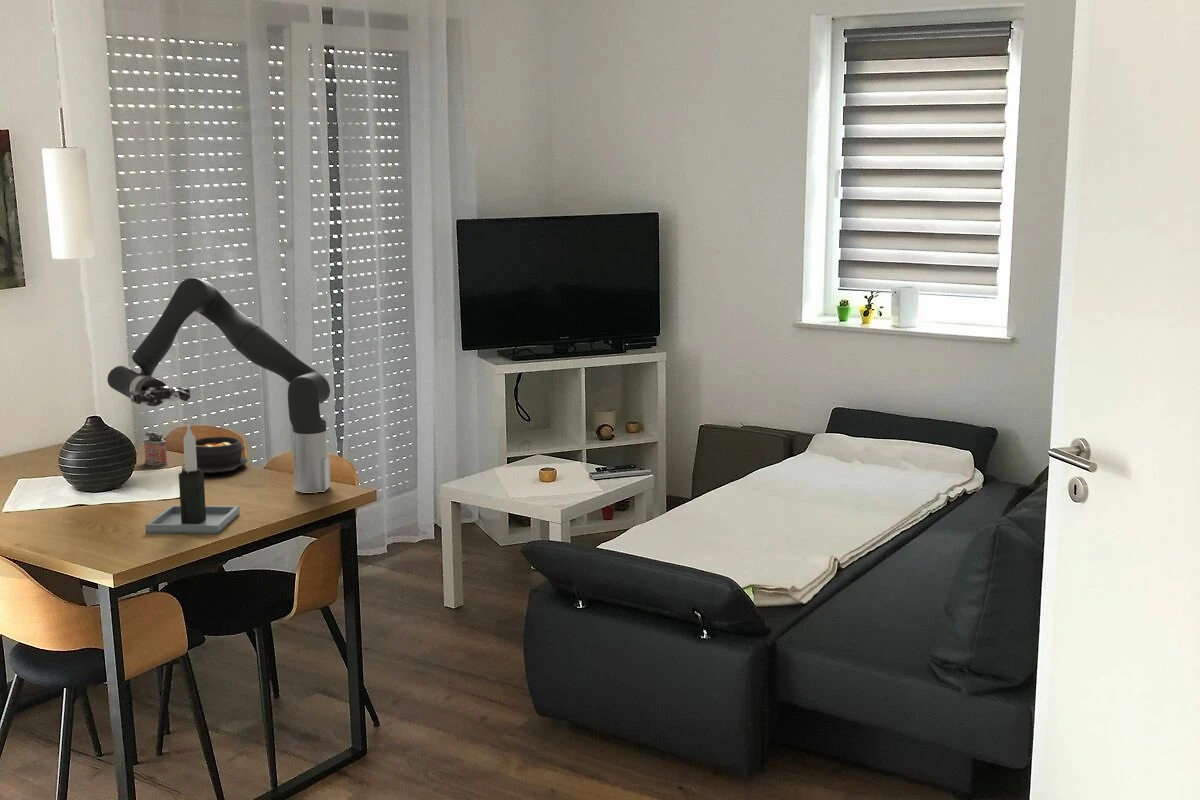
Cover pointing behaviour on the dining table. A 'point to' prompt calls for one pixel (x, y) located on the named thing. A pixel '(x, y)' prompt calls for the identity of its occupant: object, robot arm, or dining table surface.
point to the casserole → (219, 454)
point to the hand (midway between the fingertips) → (170, 398)
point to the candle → (191, 484)
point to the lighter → (155, 449)
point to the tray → (172, 524)
